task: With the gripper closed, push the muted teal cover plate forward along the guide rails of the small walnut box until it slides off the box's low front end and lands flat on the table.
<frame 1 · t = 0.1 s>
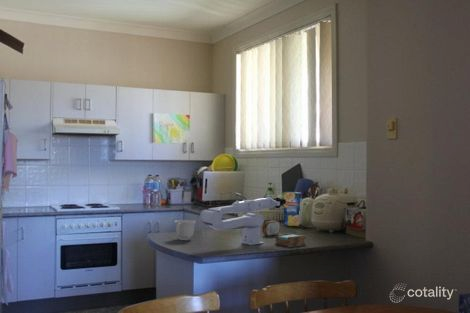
hand: (280, 200, 281), 22 cm above the countertop, tool horizontal, fingers open, 7 cm apart
tin: (271, 235, 299), on the countertop
box: (290, 244, 266), on the countertop
beverage box: (292, 225, 346), on the countertop
teacup: (183, 240, 277), on the countertop
cover plate: (290, 238, 267), point 3 cm above the countertop, touching box
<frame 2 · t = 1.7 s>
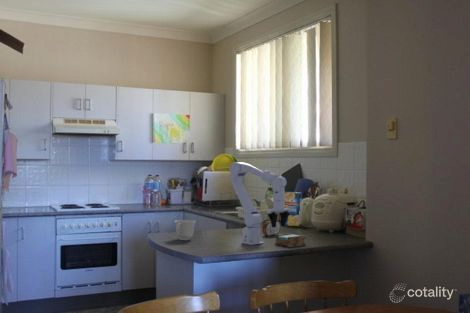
hand: (278, 226, 261), 10 cm above the countertop, tool pointing down, fingers open, 6 cm apart
nothing on the countertop moved.
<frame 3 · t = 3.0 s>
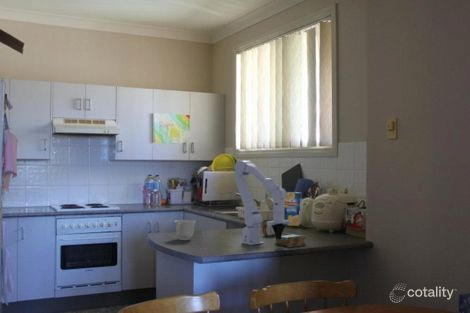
hand: (278, 238, 261), 4 cm above the countertop, tool pointing down, fingers closed
nothing on the countertop moved.
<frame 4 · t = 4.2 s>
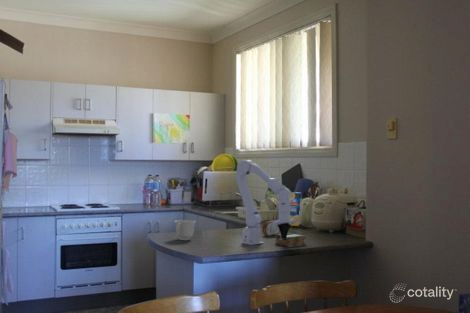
hand: (283, 238, 263), 4 cm above the countertop, tool pointing down, fingers closed
cover plate: (292, 238, 267), point 3 cm above the countertop
everything else where it was.
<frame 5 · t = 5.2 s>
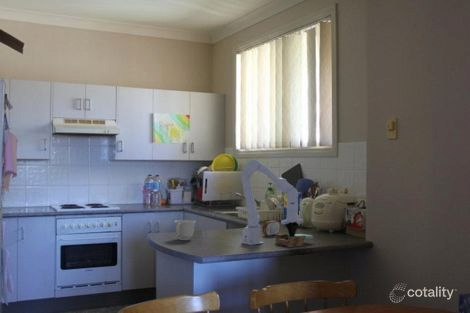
hand: (291, 237, 267), 4 cm above the countertop, tool pointing down, fingers closed
cover plate: (300, 237, 271), point 3 cm above the countertop, touching gripper
everything else where it was.
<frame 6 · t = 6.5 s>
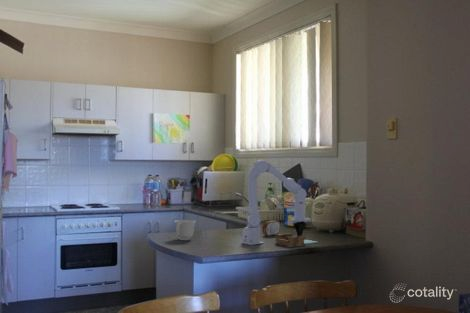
hand: (299, 236, 271), 4 cm above the countertop, tool pointing down, fingers closed
cover plate: (305, 243, 273), on the countertop
everything else where it was.
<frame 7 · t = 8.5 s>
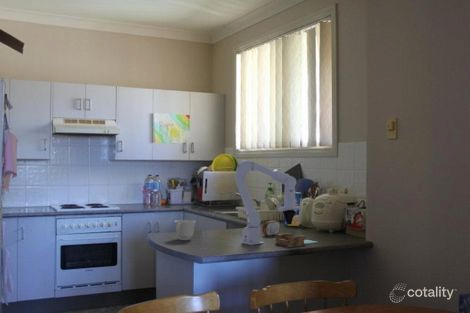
hand: (289, 224, 271), 10 cm above the countertop, tool pointing down, fingers closed
nothing on the countertop moved.
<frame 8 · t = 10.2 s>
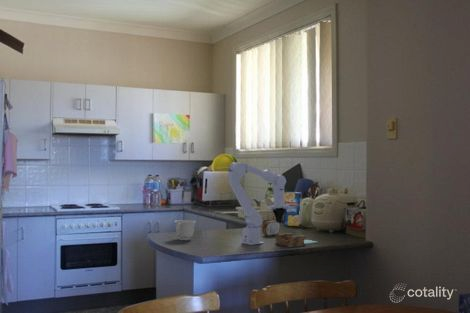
hand: (278, 222, 275), 10 cm above the countertop, tool pointing down, fingers closed
nothing on the countertop moved.
at the end: cover plate inside the target area (5.3 cm from its centre), on the countertop; cover plate touching countertop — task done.
